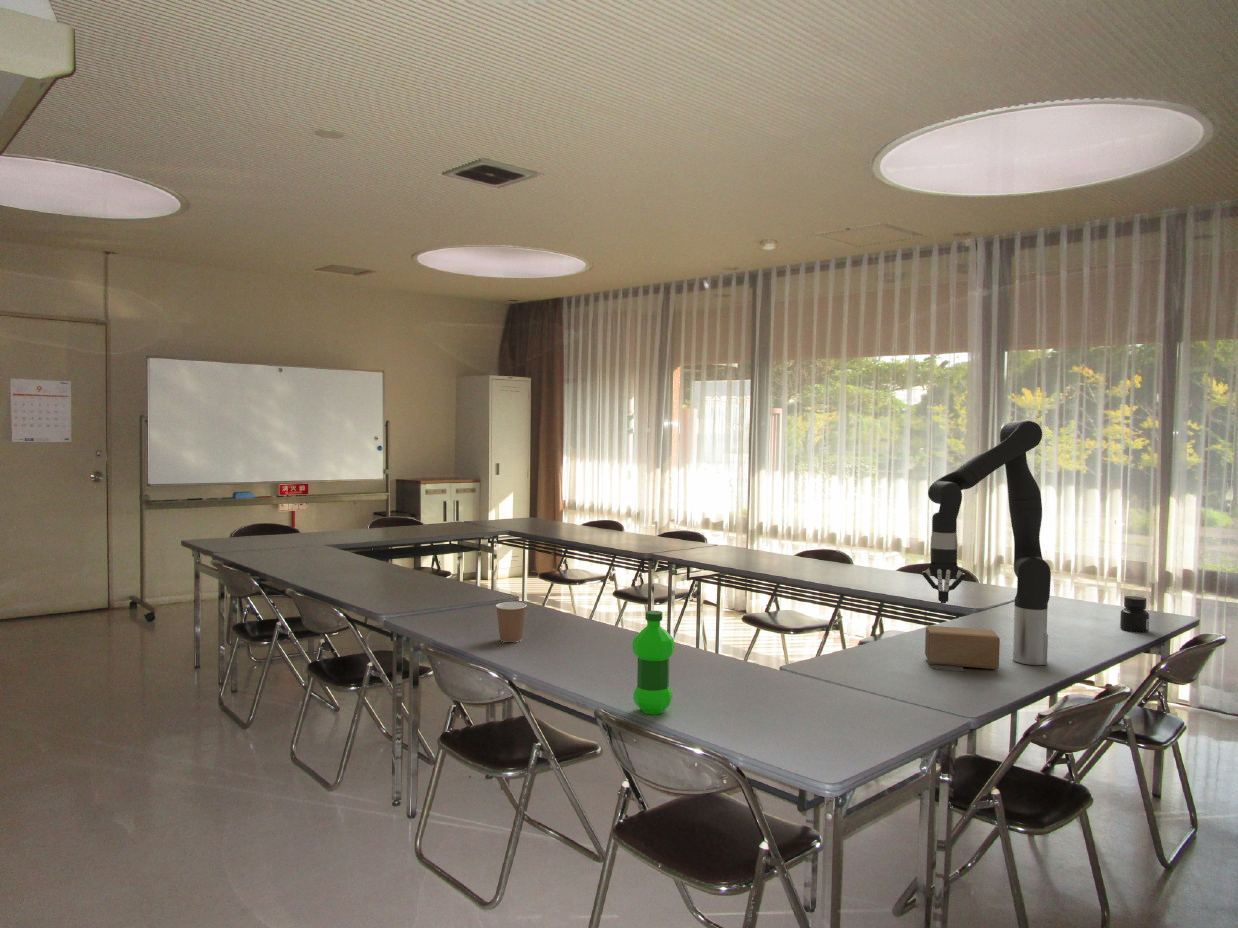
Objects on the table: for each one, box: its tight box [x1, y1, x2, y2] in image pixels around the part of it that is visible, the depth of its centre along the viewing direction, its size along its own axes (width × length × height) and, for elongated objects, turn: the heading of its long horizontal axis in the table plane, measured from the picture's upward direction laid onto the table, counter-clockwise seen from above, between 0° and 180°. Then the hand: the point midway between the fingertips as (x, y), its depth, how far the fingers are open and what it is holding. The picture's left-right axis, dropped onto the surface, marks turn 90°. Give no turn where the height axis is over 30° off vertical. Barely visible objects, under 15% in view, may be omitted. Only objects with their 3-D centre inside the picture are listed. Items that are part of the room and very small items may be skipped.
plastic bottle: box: [632, 610, 675, 715], centre depth 207 cm, size 10×10×25 cm
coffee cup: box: [495, 601, 528, 643], centre depth 275 cm, size 10×10×12 cm
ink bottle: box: [1119, 595, 1150, 633], centre depth 300 cm, size 10×9×12 cm
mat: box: [930, 664, 964, 672], centre depth 252 cm, size 9×13×1 cm
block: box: [924, 625, 1001, 670], centre depth 252 cm, size 10×10×20 cm
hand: (943, 602), depth 252 cm, fingers closed
